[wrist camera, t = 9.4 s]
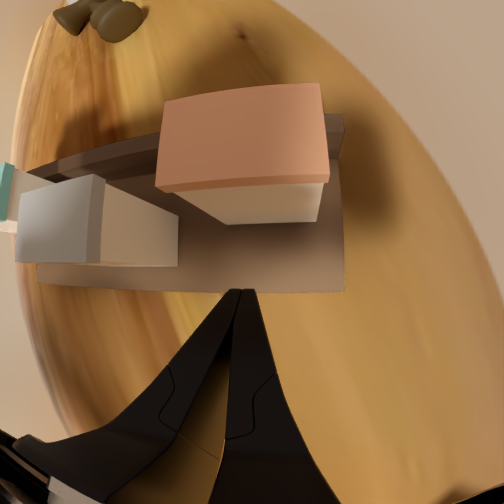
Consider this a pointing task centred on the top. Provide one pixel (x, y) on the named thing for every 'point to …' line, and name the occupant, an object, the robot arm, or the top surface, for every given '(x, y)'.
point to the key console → (211, 232)
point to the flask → (71, 1)
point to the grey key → (94, 227)
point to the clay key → (247, 153)
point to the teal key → (15, 193)
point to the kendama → (101, 18)
